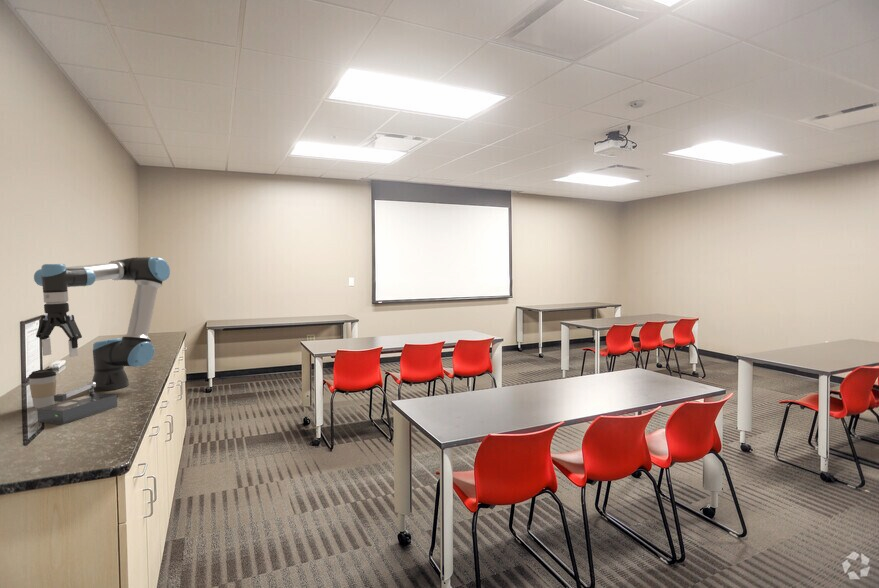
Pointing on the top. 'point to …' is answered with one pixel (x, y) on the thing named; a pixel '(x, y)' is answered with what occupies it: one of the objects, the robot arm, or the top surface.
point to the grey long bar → (74, 391)
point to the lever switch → (77, 408)
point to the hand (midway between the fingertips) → (60, 355)
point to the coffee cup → (43, 387)
